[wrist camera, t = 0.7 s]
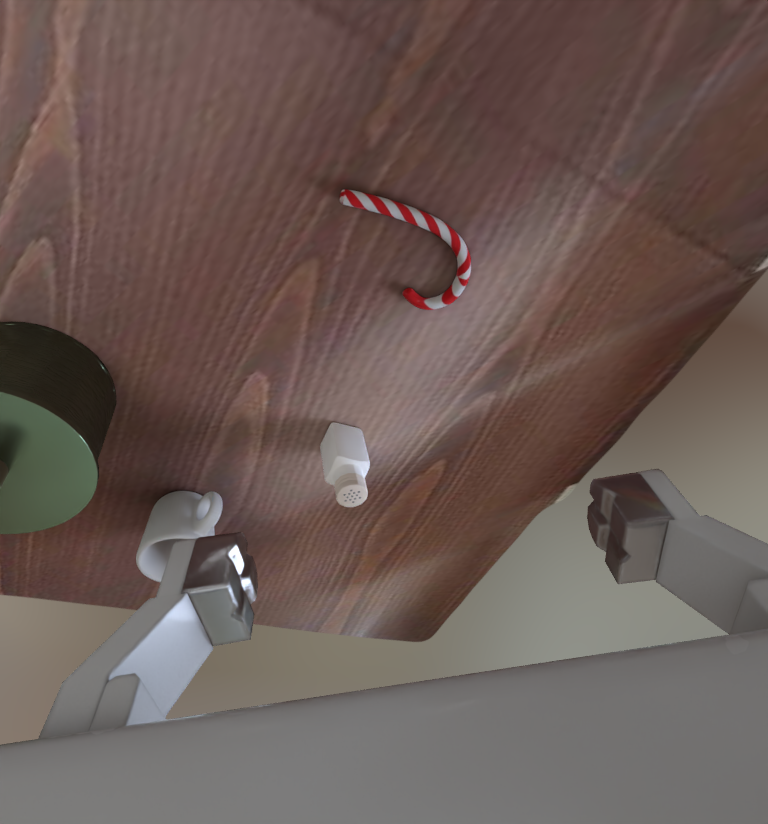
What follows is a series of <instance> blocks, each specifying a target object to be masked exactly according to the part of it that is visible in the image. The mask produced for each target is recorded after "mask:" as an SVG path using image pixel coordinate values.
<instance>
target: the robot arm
mask: <svg viewBox="0 0 768 824" xmlns="http://www.w3.org/2000/svg"><path fill="white" fill-rule="evenodd" d="M590 494H591V495H592V497H593V499H594V501H593V502H592V503H591V504H590V505H589V506H588V515H587V519H588V525H589V530H590V533H591V535H592V538H593V540H594V542H595V544H596V546H597V547H599V548H600V549H602V550H604V551H605V552H606V558H605V562H606V564H607V566H608V567H609V569H610V571H611V573H612V575H613V576H614V578H615V580H616V582H617V583H618V584H623V583H632V582H640V581H648V580H656V582H657V583H659V584H660V585H661V586H663V587H664V588H666V589H667V590H668V591H670V592H671V593H672V594H674V595H675V596H677V597H678V598H679V599H681V600H682V601H683V602H685V603H686V604H688V605H689V606H690V607H692V608H693V609H695V610H696V611H697V612H699V613H700V614H702V615H703V616H704V617H706V618H707V619H708V620H710V621H711V622H713V623H714V624H715V625H717V626H718V627H720V628H721V629H722V630H724V631H725V632H727V633H728V634H729V635H724V636H717V637H711V638H705V639H697V640H691V641H684V642H677V643H671V644H664V645H658V646H651V647H644V648H638V649H631V650H624V651H618V652H611V653H604V654H598V655H592V656H585V657H578V658H572V659H565V660H559V661H552V662H546V663H538V664H532V665H525V666H519V667H512V668H506V669H499V670H492V671H485V672H479V673H472V674H466V675H459V676H452V677H446V678H439V679H432V680H426V681H419V682H413V683H406V684H399V685H392V686H386V687H379V688H373V689H366V690H360V691H353V692H346V693H339V694H333V695H326V696H320V697H313V698H307V699H300V700H293V701H286V702H281V703H273V704H267V705H260V706H253V707H247V708H240V709H234V710H227V711H221V712H214V713H207V714H200V715H194V716H187V717H181V718H174V719H167V720H166V718H165V716H166V715H167V714H168V712H169V711H170V709H171V708H172V706H173V705H174V704H175V702H176V701H177V699H178V698H179V697H180V695H181V694H182V692H183V691H184V689H185V688H186V686H187V685H188V683H189V682H190V681H191V680H192V678H193V676H194V675H195V674H196V672H197V671H198V669H199V668H200V667H201V665H202V664H203V662H204V661H205V660H206V658H207V657H208V655H209V654H210V653H211V651H212V650H213V646H217V645H223V644H228V643H233V642H239V641H245V640H250V639H251V633H252V626H253V619H254V612H253V610H252V607H251V603H252V602H253V601H254V600H255V599H256V597H257V589H258V580H257V570H256V565H255V562H254V559H253V557H252V556H250V555H249V554H247V553H246V552H247V546H248V543H247V540H246V538H245V536H244V533H241V532H238V533H230V534H222V535H214V536H206V537H199V538H195V539H186V540H178V541H176V543H175V544H174V545H173V547H172V550H171V553H170V556H169V559H168V562H167V565H166V568H165V571H164V574H163V577H162V580H161V583H160V586H159V589H158V592H157V595H156V598H151V599H148V600H147V601H146V602H145V603H144V604H143V605H142V606H141V607H140V608H139V609H138V610H137V611H136V612H135V613H134V614H133V615H132V616H131V617H130V618H129V619H128V620H127V621H126V622H125V623H124V624H123V625H122V626H121V627H119V628H118V630H116V631H115V632H114V633H113V634H112V635H111V636H110V637H109V638H108V639H107V640H106V641H105V642H104V643H103V644H102V645H101V646H100V647H99V648H98V649H97V650H96V651H95V652H94V653H93V654H92V655H90V656H89V657H88V658H87V660H85V661H84V662H83V663H82V664H81V665H80V666H79V667H78V668H77V669H76V670H75V671H74V672H73V673H72V674H71V675H70V676H69V677H68V678H67V679H66V680H65V681H63V683H62V685H61V687H60V690H59V692H58V694H57V697H56V699H55V701H54V704H53V706H52V708H51V711H50V713H49V715H48V717H47V720H46V722H45V724H44V727H43V729H42V731H41V733H40V736H39V738H38V739H36V740H29V741H22V742H15V743H9V744H2V745H0V824H768V544H767V543H765V542H763V541H760V540H758V539H756V538H754V537H752V536H750V535H748V534H746V533H743V532H741V531H739V530H737V529H735V528H733V527H731V526H729V525H726V524H724V523H722V522H720V521H718V520H716V519H714V518H711V517H709V516H707V515H704V516H699V514H698V513H697V512H696V511H695V510H694V508H693V507H692V506H691V505H690V503H689V502H688V501H687V500H686V499H685V497H684V496H683V495H682V494H681V493H680V491H679V490H678V489H677V488H676V487H675V486H674V484H673V483H672V482H671V481H670V479H669V478H668V477H667V476H666V475H665V473H664V472H663V471H662V470H659V469H653V470H647V471H641V472H636V473H629V474H623V475H617V476H610V477H605V478H598V479H593V481H592V482H591V486H590Z"/></svg>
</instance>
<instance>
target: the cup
mask: <svg viewBox="0 0 768 824" xmlns="http://www.w3.org/2000/svg"><path fill="white" fill-rule="evenodd" d="M221 512H222V498H221V496H220V495H219V494H217V493H216V492H208V493H206V494H205V495H204V496H201V495H200V494H197V493H195V492H191V491H175V492H171V493H169V494H166V495H165V496H163V497H162V498H160V499H159V500H158V501H157V503H156V504H155V506H154V507H153V509H152V512H151V514H150V517H149V520H148V523H147V526H146V529H145V531H144V534H143V537H142V540H141V543H140V546H139V549H138V551H137V555H136V563H137V566H138V568H139V569H140V571H141V572H142V573H143V574H144V575H145V576H147V577H148V578H150V579H152V580H155V581H157V582H161V580H162V577H163V574H164V571H165V568H166V565H167V562H168V559H169V556H170V553H171V550H172V547H173V545H174V544H175V543H176V541H178V540H186V539H195V538H199V537H206V536H214V535H215V531H214V526H215V524H216V523H217V521H218V520H219V518H220V515H221Z"/></svg>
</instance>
